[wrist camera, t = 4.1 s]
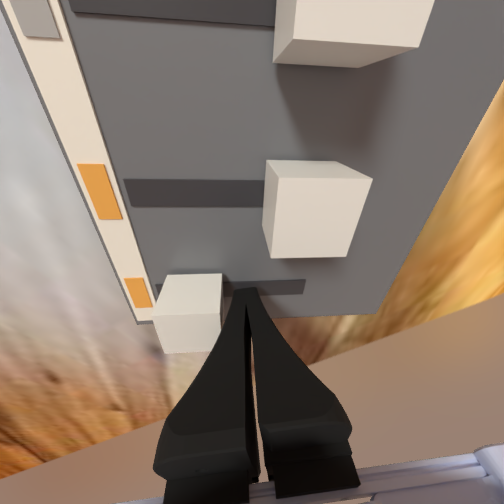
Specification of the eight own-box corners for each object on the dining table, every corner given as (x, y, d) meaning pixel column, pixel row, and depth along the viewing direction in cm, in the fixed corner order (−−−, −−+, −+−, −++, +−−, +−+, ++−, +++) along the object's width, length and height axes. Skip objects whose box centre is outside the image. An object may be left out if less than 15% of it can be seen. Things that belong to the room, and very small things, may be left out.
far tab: (221, 273, 12) (219, 312, 9) (224, 309, 13) (222, 350, 11) (167, 274, 12) (151, 316, 9) (176, 311, 13) (164, 353, 11)
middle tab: (336, 161, 9) (372, 178, 7) (320, 224, 11) (346, 256, 8) (266, 159, 9) (278, 177, 6) (261, 225, 10) (270, 258, 8)
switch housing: (552, -97, 7) (636, -152, 5) (365, 298, 17) (377, 315, 15) (-38, -180, 5) (-134, -285, 4) (144, 307, 15) (136, 326, 14)
